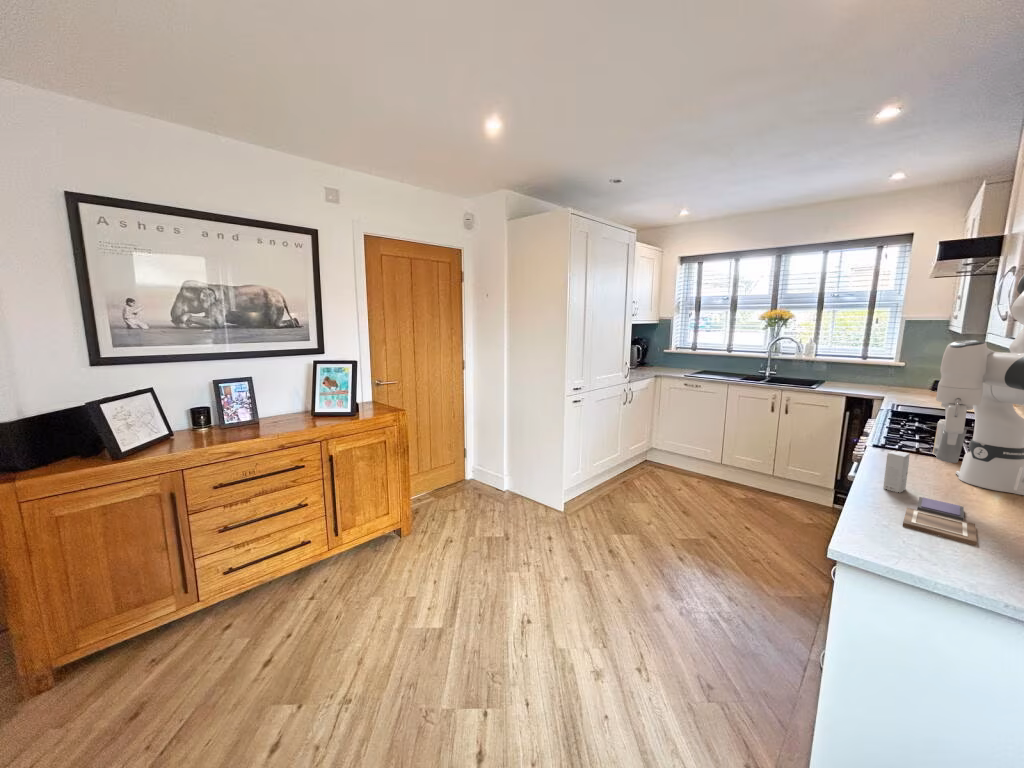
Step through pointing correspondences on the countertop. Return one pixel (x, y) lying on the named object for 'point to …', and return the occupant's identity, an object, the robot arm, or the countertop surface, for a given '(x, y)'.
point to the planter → (950, 448)
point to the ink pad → (941, 508)
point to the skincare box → (896, 471)
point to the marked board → (940, 526)
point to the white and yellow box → (938, 435)
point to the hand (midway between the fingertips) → (951, 442)
